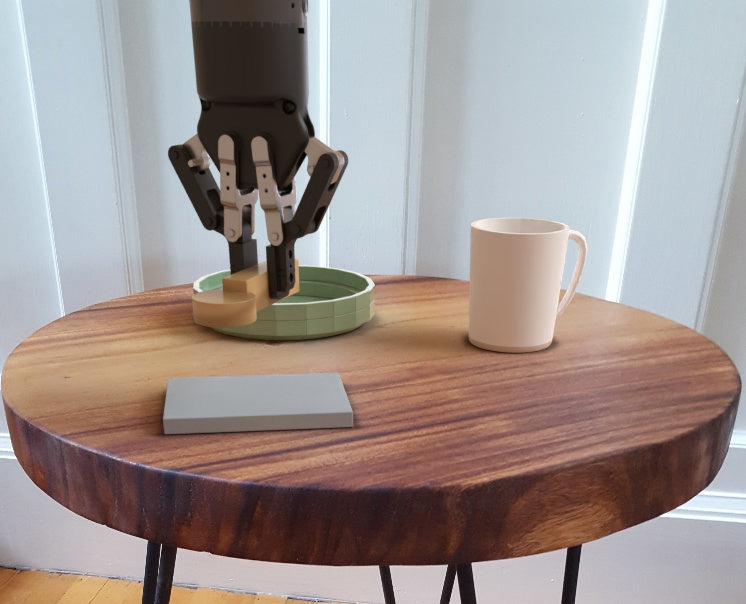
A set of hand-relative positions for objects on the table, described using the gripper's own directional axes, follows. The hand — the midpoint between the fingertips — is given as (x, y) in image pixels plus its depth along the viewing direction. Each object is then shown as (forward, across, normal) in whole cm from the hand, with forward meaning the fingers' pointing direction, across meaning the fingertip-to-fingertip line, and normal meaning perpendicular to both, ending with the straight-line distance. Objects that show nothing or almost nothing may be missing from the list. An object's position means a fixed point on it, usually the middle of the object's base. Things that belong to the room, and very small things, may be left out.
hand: (264, 294), depth 71 cm
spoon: (0, 0, -2) cm, 2 cm away
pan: (+8, -11, +25) cm, 28 cm away
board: (+8, 0, -1) cm, 8 cm away
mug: (+9, +14, +26) cm, 31 cm away
